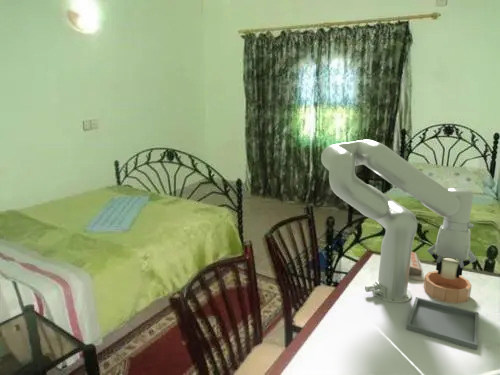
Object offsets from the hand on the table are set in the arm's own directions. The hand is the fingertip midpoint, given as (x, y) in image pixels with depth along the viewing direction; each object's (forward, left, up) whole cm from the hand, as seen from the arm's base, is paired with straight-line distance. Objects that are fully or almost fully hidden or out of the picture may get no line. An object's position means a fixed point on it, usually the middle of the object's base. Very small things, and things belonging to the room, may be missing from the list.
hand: (448, 274), depth 132 cm
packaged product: (0, +20, -8) cm, 21 cm away
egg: (0, 0, -1) cm, 1 cm away
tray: (-14, -15, -7) cm, 22 cm away
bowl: (0, 0, -7) cm, 7 cm away
